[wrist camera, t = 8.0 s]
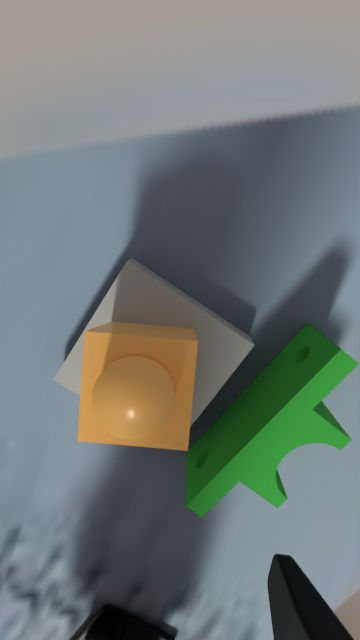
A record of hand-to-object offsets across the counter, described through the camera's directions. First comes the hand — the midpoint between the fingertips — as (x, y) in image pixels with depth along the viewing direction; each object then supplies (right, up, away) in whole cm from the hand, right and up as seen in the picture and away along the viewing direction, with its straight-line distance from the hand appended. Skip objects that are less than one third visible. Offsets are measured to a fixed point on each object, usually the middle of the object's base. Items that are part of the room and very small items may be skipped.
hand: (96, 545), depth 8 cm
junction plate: (+1, +4, +11) cm, 12 cm away
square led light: (0, +3, +9) cm, 10 cm away
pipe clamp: (+7, 0, +12) cm, 14 cm away
